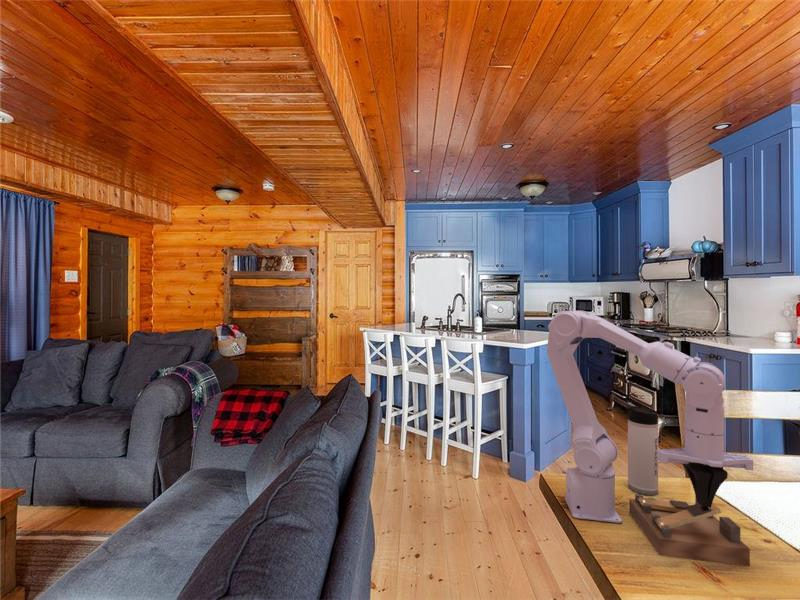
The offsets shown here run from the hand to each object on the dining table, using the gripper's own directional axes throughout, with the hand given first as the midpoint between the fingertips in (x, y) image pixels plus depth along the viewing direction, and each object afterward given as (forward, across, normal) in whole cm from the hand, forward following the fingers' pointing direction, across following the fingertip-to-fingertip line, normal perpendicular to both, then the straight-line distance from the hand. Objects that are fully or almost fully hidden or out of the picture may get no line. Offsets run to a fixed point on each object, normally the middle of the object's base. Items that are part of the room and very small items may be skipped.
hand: (703, 504), depth 70 cm
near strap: (+3, -2, 0) cm, 4 cm away
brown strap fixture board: (+8, -2, +4) cm, 10 cm away
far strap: (+5, -2, +8) cm, 10 cm away
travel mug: (+9, -2, +23) cm, 25 cm away
